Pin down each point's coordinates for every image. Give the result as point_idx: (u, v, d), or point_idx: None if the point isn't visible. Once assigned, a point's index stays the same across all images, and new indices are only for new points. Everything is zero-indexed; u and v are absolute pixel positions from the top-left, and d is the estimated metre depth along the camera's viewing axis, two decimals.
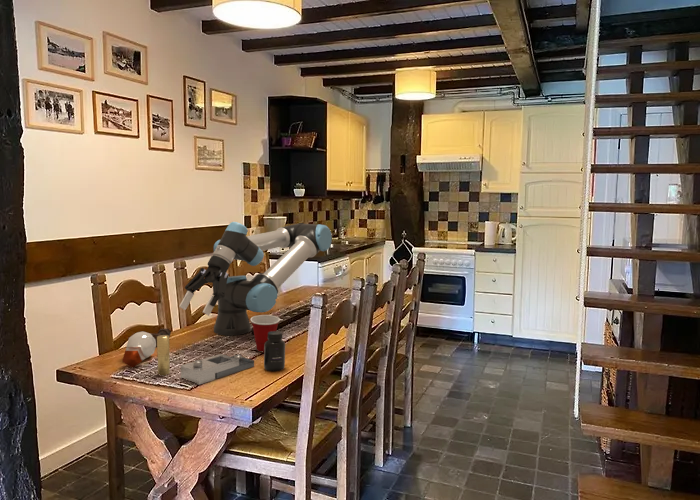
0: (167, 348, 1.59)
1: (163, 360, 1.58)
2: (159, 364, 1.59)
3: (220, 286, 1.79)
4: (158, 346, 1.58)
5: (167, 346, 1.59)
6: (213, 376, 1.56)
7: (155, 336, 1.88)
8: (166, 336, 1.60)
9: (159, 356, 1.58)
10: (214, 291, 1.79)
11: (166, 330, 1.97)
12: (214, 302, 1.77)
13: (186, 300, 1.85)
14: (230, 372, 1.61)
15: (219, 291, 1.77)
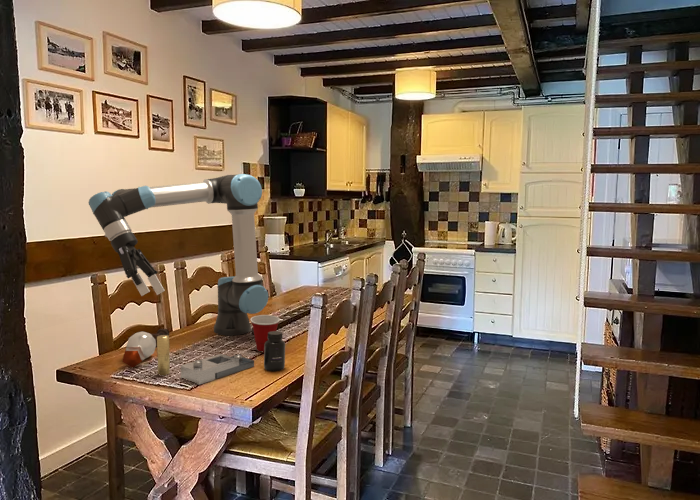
0: (167, 348, 1.59)
1: (163, 360, 1.58)
2: (159, 364, 1.59)
3: None
4: (158, 346, 1.58)
5: (167, 346, 1.59)
6: (213, 376, 1.56)
7: (155, 336, 1.88)
8: (166, 336, 1.60)
9: (159, 356, 1.58)
10: None
11: (165, 330, 1.97)
12: (136, 281, 1.56)
13: (155, 284, 1.70)
14: (230, 372, 1.61)
15: None
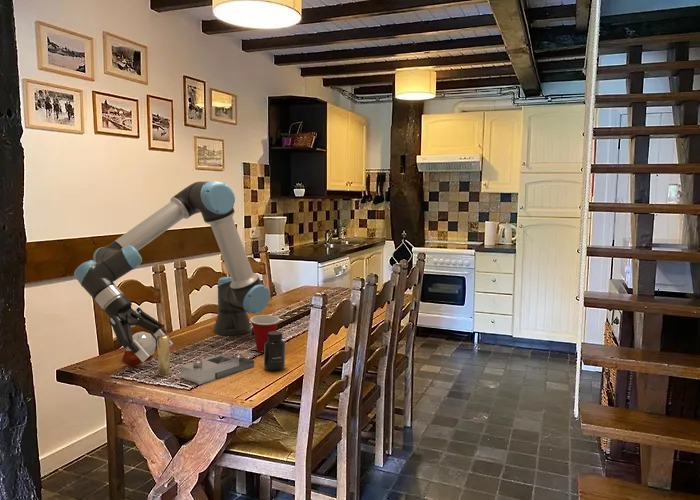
0: (167, 348, 1.59)
1: (163, 360, 1.58)
2: (159, 364, 1.59)
3: None
4: (158, 346, 1.58)
5: (167, 346, 1.59)
6: (213, 376, 1.56)
7: (153, 336, 1.87)
8: (166, 336, 1.60)
9: (159, 356, 1.58)
10: None
11: (162, 330, 1.97)
12: (133, 349, 1.52)
13: None
14: (230, 372, 1.61)
15: None
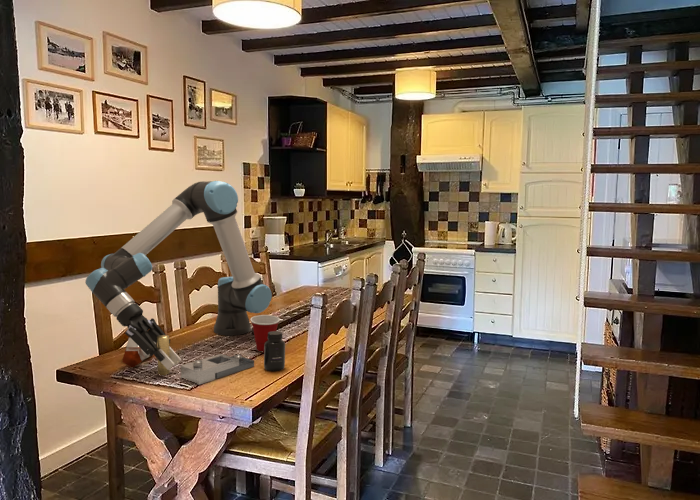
0: (167, 348, 1.59)
1: None
2: (159, 364, 1.59)
3: None
4: (158, 346, 1.58)
5: (167, 346, 1.59)
6: (213, 376, 1.56)
7: None
8: (166, 336, 1.60)
9: None
10: None
11: None
12: (158, 357, 1.56)
13: (170, 355, 1.61)
14: (230, 372, 1.61)
15: None
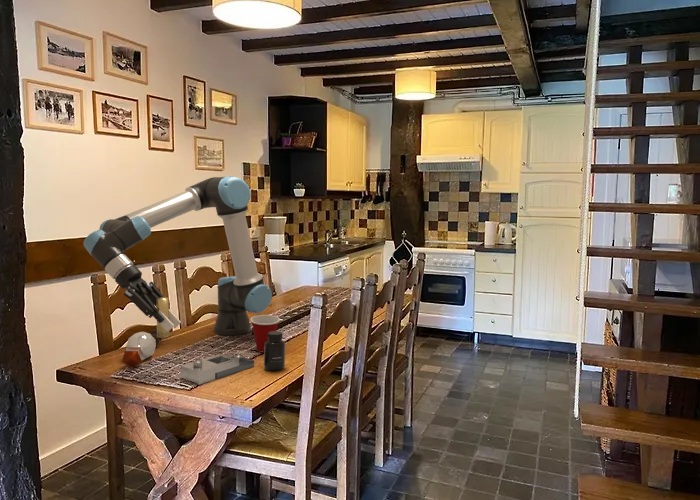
0: (166, 310, 1.58)
1: None
2: (158, 326, 1.57)
3: None
4: (157, 308, 1.57)
5: (166, 308, 1.58)
6: (213, 376, 1.56)
7: None
8: (165, 298, 1.58)
9: None
10: None
11: None
12: (158, 319, 1.55)
13: (170, 318, 1.60)
14: (230, 372, 1.61)
15: None
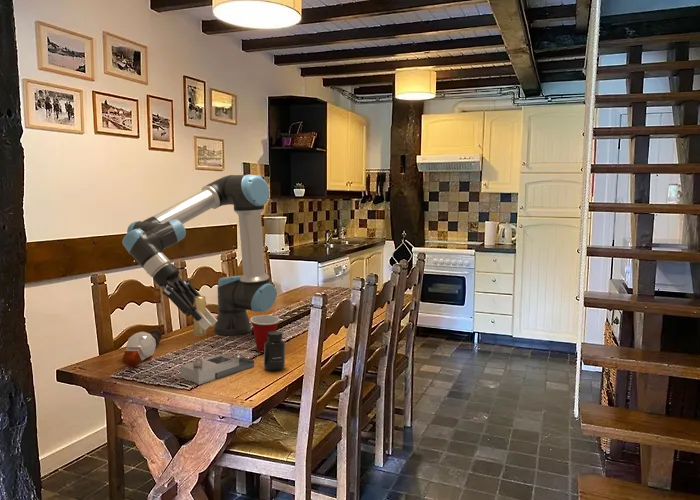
0: (203, 308, 1.58)
1: None
2: (195, 324, 1.58)
3: None
4: (195, 306, 1.58)
5: (203, 306, 1.58)
6: (213, 376, 1.56)
7: None
8: (202, 296, 1.59)
9: None
10: None
11: (158, 331, 1.96)
12: (195, 317, 1.56)
13: (206, 316, 1.61)
14: (230, 372, 1.61)
15: None
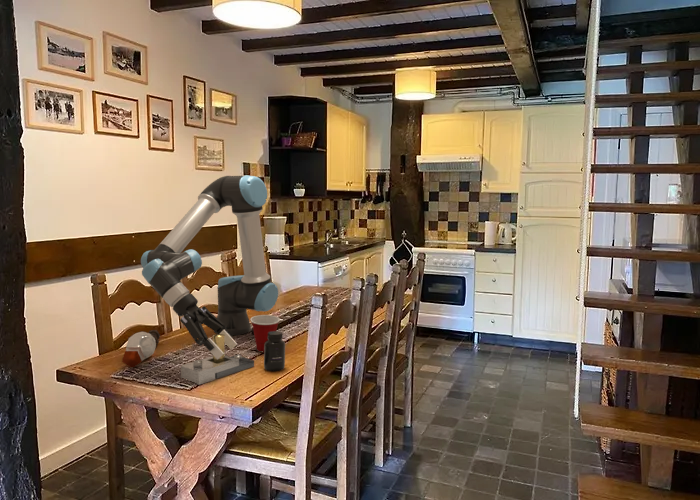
0: (223, 347, 1.61)
1: (219, 358, 1.61)
2: (215, 362, 1.61)
3: None
4: None
5: (223, 345, 1.61)
6: (213, 376, 1.56)
7: None
8: (221, 335, 1.62)
9: None
10: None
11: (156, 331, 1.95)
12: (208, 347, 1.55)
13: (227, 340, 1.67)
14: (230, 372, 1.61)
15: None
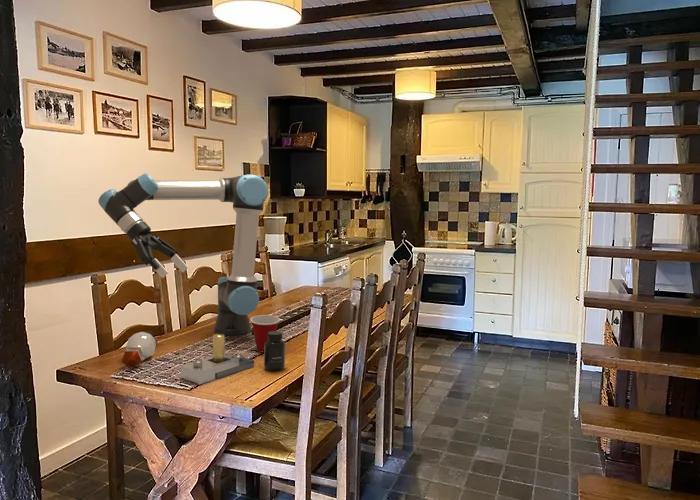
0: (223, 347, 1.61)
1: (219, 358, 1.61)
2: (215, 362, 1.61)
3: None
4: (214, 345, 1.61)
5: (223, 345, 1.61)
6: (213, 376, 1.56)
7: None
8: (221, 335, 1.62)
9: (215, 355, 1.61)
10: None
11: (152, 332, 1.94)
12: (153, 266, 1.67)
13: (178, 263, 1.82)
14: (230, 372, 1.61)
15: None
